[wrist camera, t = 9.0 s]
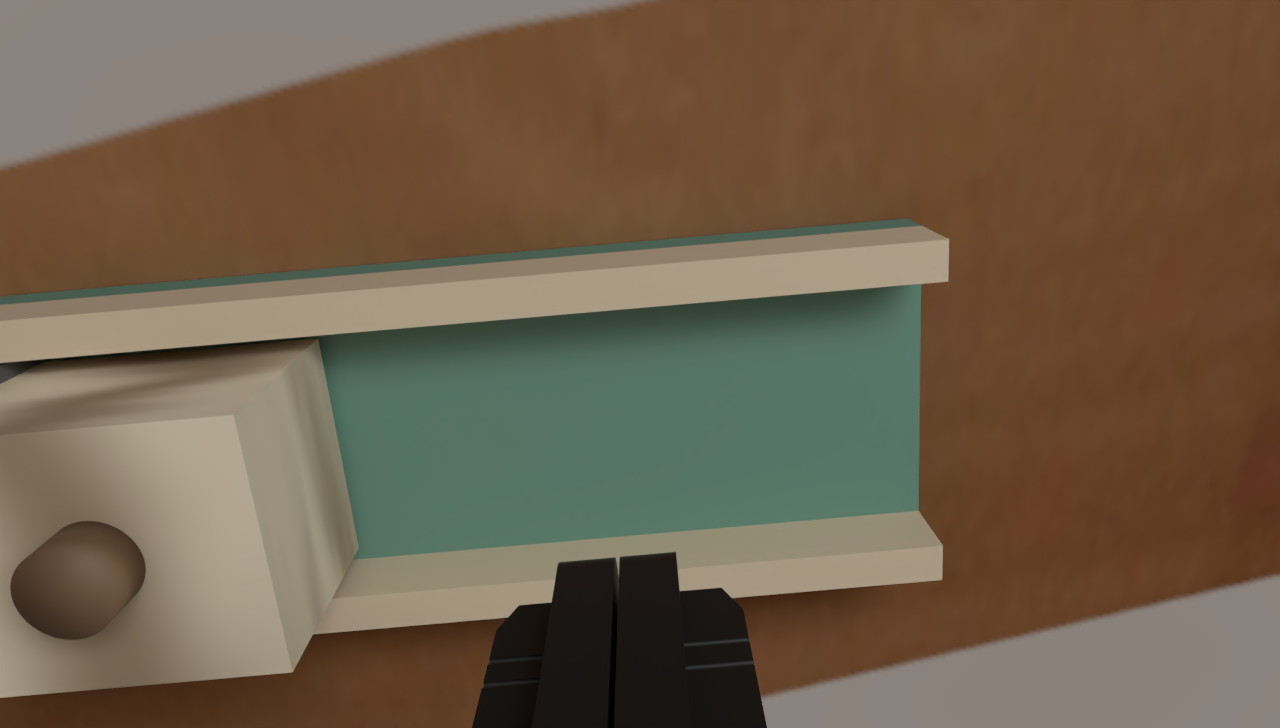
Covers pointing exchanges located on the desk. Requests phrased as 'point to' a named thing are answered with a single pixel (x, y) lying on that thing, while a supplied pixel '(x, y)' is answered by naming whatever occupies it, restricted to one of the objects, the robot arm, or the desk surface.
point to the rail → (584, 407)
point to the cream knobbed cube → (167, 517)
